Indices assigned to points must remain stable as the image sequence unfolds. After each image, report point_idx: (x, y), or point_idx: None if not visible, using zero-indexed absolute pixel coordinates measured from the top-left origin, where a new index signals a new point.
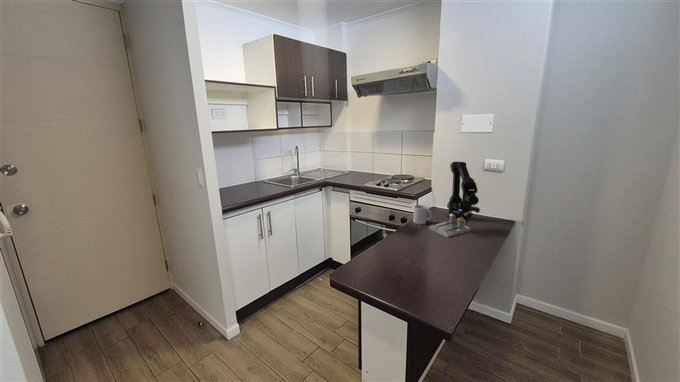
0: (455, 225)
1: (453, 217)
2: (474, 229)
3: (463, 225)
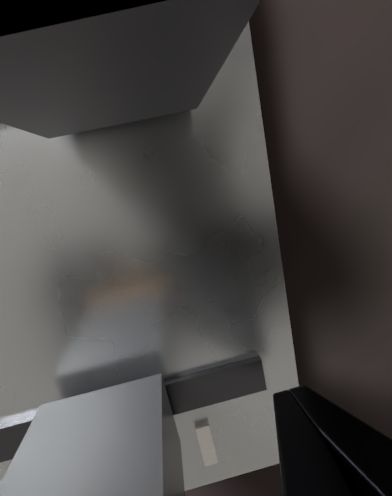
0: (83, 286)
1: (26, 58)
2: (377, 383)
3: (268, 335)
